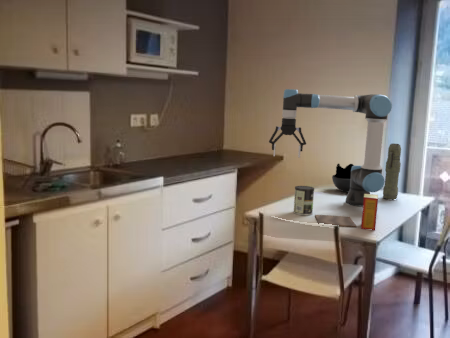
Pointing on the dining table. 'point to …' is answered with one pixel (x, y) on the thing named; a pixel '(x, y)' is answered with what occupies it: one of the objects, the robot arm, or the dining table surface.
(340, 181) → the coal bowl
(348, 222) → the walnut board
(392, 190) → the olive green rough column
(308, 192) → the coffee can
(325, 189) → the dining table surface
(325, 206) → the dining table surface
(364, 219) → the baking soda box
